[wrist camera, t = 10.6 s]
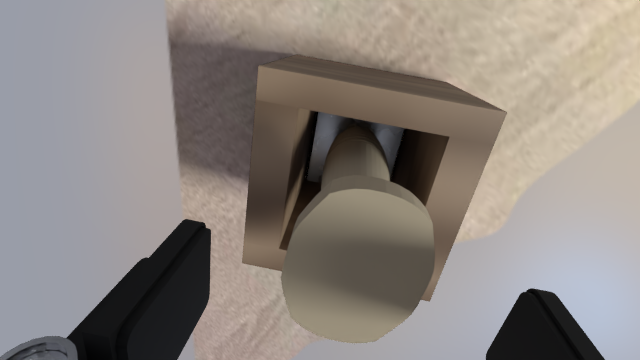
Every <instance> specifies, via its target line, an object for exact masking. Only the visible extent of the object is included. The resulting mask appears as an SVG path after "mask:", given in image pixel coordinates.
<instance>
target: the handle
mask: <svg viewBox="0 0 640 360" xmlns="http://www.w3.org/2000/svg"><path fill="white" fill-rule="evenodd" d="M434 264H435V249H434V234H433V223H432V220H431V218H430V215H429V213H428V211H427V209H426V208H425V206H424V205H423V204H422V203H421V201H420V200H419V199H418V198H417V197H416V196H415V195H414V194H412V193H411V192H410V191H409V190H407V189H405V188H403V187H402V186H400V185H398V184H396V183H393V182H390V176H389V166H388V162H387V158H386V155H385V152H384V149H383V147H382V145H381V143H380V142H379V140H378V139H377V138H376V137H375V133H374V132H373V131H372V130H371V129H370V128H361V127H359V126H357V125H356V124H350V125H349V126H348V128H347V129H346V130H344V131H343V132H341V133H340V134H339V135H337V136H336V137H335V139H334V141H333V143H332V144H331V146H330V148H329V151H328V153H327V156H326V159H325V163H324V167H323V174H322V185H321V191H320V192H319V193H318V194H317V195H316V196H315V197H314V199H313V200H312V201H311V202H310V203H309V204H308V205H307V206H306V208H305V209H304V210H303V211H302V213H301V214H300V215H299V216H298V218H297V221H296V223H295V226H294V229H293V232H292V235H291V239H290V242H289V246H288V249H287V253H286V257H285V260H284V264H283V268H282V276H281V281H282V288H283V292H284V296H285V300H286V303H287V307H288V310H289V313H290V316H291V318H292V319H293V320H294V321H295V322H296V323H297V324H299V325H300V326H302V327H303V328H304V329H306V330H308V331H310V332H312V333H314V334H316V335H319V336H321V337H324V338H327V339H331V340H335V341H340V342H347V343H367V342H374V341H376V340H378V339H379V338H381V337H382V336H384V335H385V334H387V333H388V332H390V331H391V330H393V329H394V328H395V327H397V326H398V325H400V324H401V323H402V322H403V321H405V319H407V318H408V317H409V316H410V315H411V314H412V312H413V311H414V310H415V308H416V307H417V305H418V304H419V301H420V300H421V298H422V296H423V294H424V292H425V290H426V288H427V287H428V285H429V283H430V280H431V277H432V275H433V272H434Z"/></svg>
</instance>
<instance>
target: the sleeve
mask: <svg viewBox="0 0 640 360" xmlns="http://www.w3.org/2000/svg"><path fill="white" fill-rule="evenodd" d="M316 111H317V112H323V113H328V114H333V115H338V116H344V117H349V118H354V119H359V120H365V121H370V122H375V123H381V124H386V125H391V126H396V127H402V128H406V129H405V133H404V136H403V140H402V143H401V147H400V150H399V154H398V157H397V161H396V164H395V168H394V171H393V175H392V179H391V182H393V183H396V184H398V185H400V186H402V187H403V188H405V189H407V190H409V191H410V192H411V193H412V194H414V195H415V196H416V197H417V198H418V199H419V200H420V201H421V203H422V204H423V205H424V206H425V208H426V209H427V211H428V213H429V215H430V218H431V220H432V223H433V234H434V249H435V264H434V272H433V275H432V277H431V280H430V283H429V285H428V287H427V288H426V290H425V292H424V294H423V296H422V298H421V300H425V301H430V299H431V297H432V295H433V292H434V290H435V287H436V285H437V282H438V280H439V277H440V275H441V273H442V270H443V268H444V265H445V263H446V260H447V258H448V255H449V253H450V251H451V248H452V246H453V243H454V241H455V238H456V236H457V234H458V231H459V229H460V226H461V224H462V221H463V219H464V216H465V214H466V212H467V209H468V207H469V204H470V202H471V199H472V197H473V195H474V192H475V190H476V187H477V185H478V182H479V180H480V177H481V175H482V173H483V170H484V168H485V165H486V163H487V160H488V158H489V155H490V153H491V151H492V148H493V146H494V143H495V141H496V138H497V136H498V133H499V131H500V129H501V126H502V124H503V121H504V119H505V116H506V114H507V112H505V111H503V110H501V109H499V108H497V107H495V106H493V105H491V104H489V103H487V102H485V101H483V100H481V99H479V98H477V97H475V96H473V95H471V94H469V93H467V92H465V91H463V90H461V89H459V88H457V87H455V86H453V85H451V84H449V83H446V82H441V81H435V80H430V79H425V78H419V77H414V76H409V75H403V74H398V73H392V72H387V71H382V70H376V69H371V68H365V67H360V66H355V65H349V64H344V63H339V62H333V61H328V60H322V59H317V58H312V57H306V56H301V55H294V56H291V57H287V58H284V59H280V60H277V61H273V62H270V63H266V64H263V65H259V66H258V77H257V89H256V101H255V113H254V125H253V137H252V150H251V162H250V174H249V186H248V198H247V210H246V222H245V234H244V246H243V258H242V263H244V264H249V265H254V266H259V267H264V268H269V269H274V270H278V271H282V268H283V264H284V260H285V257H286V253H287V249H288V246H289V242H290V239H291V235H292V232H293V229H294V226H295V223H296V221H297V218H298V216H299V215H300V214H301V213H302V211H303V210H304V209H305V208H306V206H307V205H308V204H309V203H310V202H311V201H312V200H313V199H314V197H315V196H316V195H317V194H318V193H319V192H320V191H321V185H322V183H318V182H313V181H308V180H307V179H306V178H305V174H306V168H307V162H308V155H309V149H310V143H311V137H312V131H313V124H314V118H315V112H316Z"/></svg>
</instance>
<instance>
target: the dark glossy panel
mask: <svg viewBox="0 0 640 360" xmlns="http://www.w3.org/2000/svg"><path fill="white" fill-rule="evenodd" d="M350 124H356V125H357V126H359V127H361V128H370V129H371V130H372V131H373V132H374V133H375V137H376V138H377V139H378V140H379V142H380V143H381V145H382V147H383V149H384V152H385V155H386V158H387V162H388V166H389V176H390V177H391V173H392V170H393V166H394V163H395V159H396V156H397V152H398V149H399V145H400V142H401V138H402V134H403V131H404V128H402V127H396V126H391V125H386V124H381V123H375V122H370V121H365V120H359V119H354V118H349V117H344V116H338V115H333V114H328V113H323V112H318V118H317V124H316V130H315V136H314V143H313V149H312V155H311V161H310V167H309V173H308V179H307V180H308V181H313V182H318V183H322V174H323V167H324V163H325V159H326V156H327V153H328V151H329V148H330V146H331V144H332V143H333V141H334V139H335V137H336V136H337V135H339V134H340V133H341V132H343V131H344V130H346V129H347V128H348V126H349V125H350Z"/></svg>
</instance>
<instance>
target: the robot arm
mask: <svg viewBox="0 0 640 360" xmlns="http://www.w3.org/2000/svg"><path fill="white" fill-rule="evenodd" d="M210 249H211V230H210V229H208V228H206V225H205V223H203V222H198V221H193V220H188V219H185V220H183V221H182V222H181V223H180V224H179V225H178V226H177V228H176V229H175V230H174V231H173V232H172V233H171V234H170V235H169V236H168V238H167V239H166V240H165V241H164V242H163V243H162V244H161V245H160V246H159V247H158V248H157V249H156V251H155V252H154V253H153V254H152V255H151V256H150V257H149V258H143V259H141V260H140V261H139V262H138V263H137V264H136V265H135V266H134V267H133V268H132V269H131V270H130V271H129V272H128V273H127V274H126V275H125V276H124V277H123V279H122V280H121V281H120V282H119V283H118V284H117V285H116V286H115V287H114V288H113V289H112V290H111V291H110V292H109V293H108V295H106V297H105V298H104V299H103V300H102V301H101V302H100V303H99V304H98V305H97V306H96V307H95V308H94V309H93V310H92V311H91V313H90V314H89V315H88V316H87V317H86V318H85V319H84V320H83V321H82V322H81V323H80V324H79V325H78V326H77V327H76V328H75V329H74V330H73V332H72V333H71V334H70V335H69V336H68V337H67V338H63V337H60V336H47V337H42V338H37V339H33V340H30V341H28V342H25V343H23V344H20V345H18V346H17V347H15V348H13V349H11V350H10V351H8V352H6V353H5V354H4V355H2V356H1V357H0V360H177V359H178V357H179V355H180V354H181V352H182V350H183V348H184V346H185V344H186V343H187V341H188V339H189V337H190V335H191V333H192V332H193V330H194V328H195V326H196V324H197V322H198V321H199V319H200V317H201V315H202V313H203V311H204V310H205V308H206V306H207V303H208V300H209V294H210ZM486 360H605V359H604V358H603V357H602V355H601V354H600V353H599V351H598V350H597V349H596V347H595V346H594V345H593V343H592V342H591V341H590V339H589V338H588V337H587V335H586V334H585V333H584V331H583V330H582V329H581V327H580V326H579V325H578V323H577V322H576V321H575V319H574V318H573V317H572V315H571V314H570V313H569V311H568V310H567V309H566V308H565V306H564V305H563V303H562V302H561V301H560V299H559V298H558V297H557V296H556V295H555V294H554V293H552V292H548V291H543V290H538V289H528V290H527V291H526V292H523V293H521V294H520V296H519V298H518V299H517V301H516V303H515V304H514V306H513V308H512V310H511V311H510V313H509V315H508V316H507V318H506V320H505V322H504V323H503V325H502V327H501V329H500V330H499V332H498V334H497V335H496V337H495V339H494V341H493V342H492V344H491V346H490V348H489V349H488V351H487V354H486Z"/></svg>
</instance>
